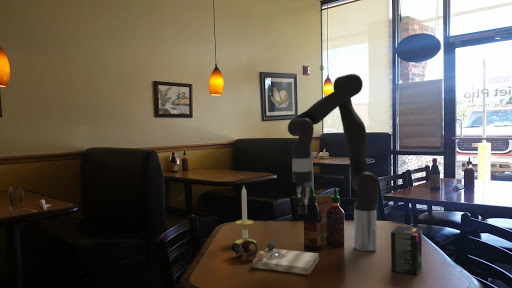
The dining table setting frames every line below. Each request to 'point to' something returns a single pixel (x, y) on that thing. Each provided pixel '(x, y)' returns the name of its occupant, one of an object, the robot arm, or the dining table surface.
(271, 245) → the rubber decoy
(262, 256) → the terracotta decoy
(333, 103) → the robot arm
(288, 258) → the board
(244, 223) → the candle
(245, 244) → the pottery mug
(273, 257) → the steel ball
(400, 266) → the tampon box
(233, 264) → the dining table surface
